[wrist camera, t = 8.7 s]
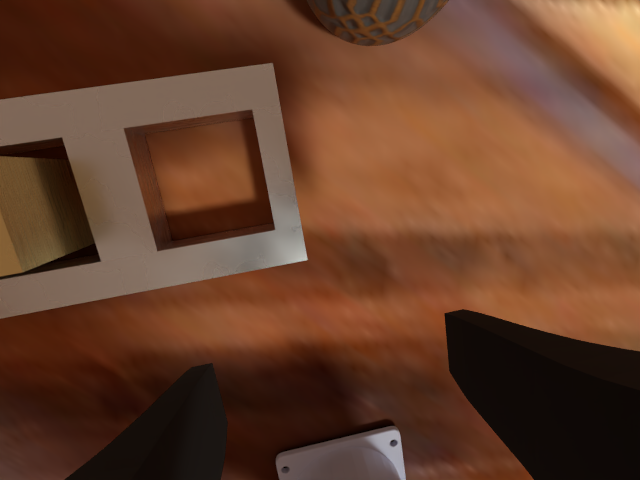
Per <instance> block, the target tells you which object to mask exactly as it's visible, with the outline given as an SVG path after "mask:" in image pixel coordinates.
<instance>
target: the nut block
mask: <svg viewBox="0 0 640 480" xmlns="http://www.w3.org/2000/svg"><path fill="white" fill-rule="evenodd" d="M94 243H95V240H94V237H93V234H92V231H91V228H90V225H89V221H88V218H87V215H86V212H85V209H84V205H83V202H82V199H81V196H80V193H79V190H78V186H77V183H76V180H75V177H74V174H73V171H72V167H71V164H70V161H69V160H64V159H44V158H24V157H5V156H0V276H5V275H11V274H16V273H22V272H25V271H27V270H30V269H32V268H35V267H37V266H40V265H42V264H45V263H47V262H50V261H52V260H55V259H57V258H59V257H62V256H64V255H67V254H69V253H72V252H74V251H77V250H79V249H82V248H84V247H87V246H89V245H92V244H94Z"/></svg>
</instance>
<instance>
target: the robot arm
mask: <svg viewBox="0 0 640 480" xmlns="http://www.w3.org/2000/svg"><path fill="white" fill-rule="evenodd" d="M445 325H446V336H447V348H448V360H449V371H450V373H451V374H452V376H453V378H454V379H455V381H456V382H457V384H458V386H459V387H460V389H461V390H462V392H463V393H464V395H465V396H466V398H467V399H468V401H469V402H470V403H471V404H472V405H473V407H474V408H475V409H476V410H477V412H478V413H479V414H480V415H481V416H482V418H483V419H484V420H485V421H486V422H487V423H488V425H489V426H490V427H491V428H492V429H493V431H494V432H495V433H496V434H497V435H498V436H499V438H500V439H501V440H502V441H503V442H504V444H505V445H506V446H507V447H508V448H509V449H510V451H511V452H512V453H513V454H514V455H515V457H516V458H517V459H518V460H519V461H520V462H521V464H522V465H523V466H524V467H525V469H526V470H527V471H528V472H529V474H530V475H531V476H532V477H533V479H534V480H640V351H633V350H627V349H621V348H616V347H610V346H605V345H600V344H595V343H589V342H585V341H580V340H576V339H572V338H568V337H564V336H560V335H556V334H552V333H548V332H544V331H540V330H537V329H533V328H530V327H526V326H523V325H519V324H516V323H512V322H509V321H506V320H502V319H499V318H496V317H492V316H489V315H485V314H482V313H478V312H474V311H469V310H464V309H462V310H458V311H453V312H448V313H445ZM227 424H228V422H227V418H226V414H225V410H224V406H223V403H222V399H221V395H220V391H219V387H218V383H217V379H216V375H215V372H214V368H213V364H212V363H210V364H205V365H201V366H196V367H191V368H190V369H189V370H188V371H186V372H185V373H184V374H183V375H182V376H181V377H180V378H179V379H178V380H177V381H176V382H175V383H174V384H173V385H172V386H171V387H170V388H169V389H168V390H167V391H166V392H165V393H164V394H163V395H162V396H161V397H159V398H158V399H157V400H156V401H155V402H154V403H153V404H152V405H151V406H150V407H149V408H148V409H147V410H146V411H145V412H144V413H143V414H142V415H141V416H140V417H139V418H137V419H136V420H135V421H134V422H133V423H132V424H131V425H130V426H129V427H128V428H126V429H125V430H124V431H123V432H122V433H121V434H120V435H119V436H118V437H116V438H115V439H114V440H113V441H112V442H111V443H110V444H109V445H107V446H106V447H105V448H104V449H103V450H101V451H100V452H99V453H98V454H97V455H95V456H94V457H93V458H92V459H90V460H89V461H88V462H87V463H85V464H84V465H83V466H81V467H80V468H79V469H78V470H76V471H75V472H74V473H72V474H71V475H70V476H69V477H67V478H66V479H65V480H220V479H221V474H222V469H223V464H224V459H225V450H226V438H227ZM392 440H394V441H393V442H391V441H392ZM285 466H287V468H283V467H285ZM276 467H277V472H278V476H279V480H406V477H405V469H404V461H403V453H402V445H401V438H400V433H399V430H398V428H397V427H395V426H388V427H384V428H380V429H376V430H372V431H368V432H363V433H359V434H355V435H351V436H347V437H343V438H339V439H335V440H330V441H326V442H322V443H318V444H314V445H310V446H306V447H302V448H298V449H293V450H289V451H285V452H282V453H279V454H278V455H277V457H276Z"/></svg>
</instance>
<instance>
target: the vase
mask: <svg viewBox="0 0 640 480" xmlns="http://www.w3.org/2000/svg"><path fill="white" fill-rule="evenodd" d="M448 1H449V0H307V2H308V4H309V6H310V8H311V10H312V11H313V13H314V14H315V16H316V17H317V19H318V20H319V21H320V22H321V23H322V24H323V25H324V26H325V27H326V28H327V29H328V30H329V31H330V32H332V33H333V34H334V35H336V36H337V37H339V38H341V39H343V40H345V41H347V42H350V43H353V44H357V45H363V46H378V45H385V44H389V43H393V42H395V41H398V40H401V39H403V38H405V37H407V36H409V35H411V34H412V33H414V32H415V31H417V30H418V29H420V28H421V27H422V26H424V25H425V24H426V23H427V22H428V21H430V20H431V19H432V18H433V17H434V16H435V15H436V14H437V13H438V12H439V11H440V10H441V9H442V8H443V7H444V6H445V4H446V3H447V2H448Z"/></svg>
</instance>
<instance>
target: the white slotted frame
mask: <svg viewBox="0 0 640 480" xmlns="http://www.w3.org/2000/svg"><path fill="white" fill-rule="evenodd" d="M248 118H254V121H255V127H256V132H257V137H258V142H259V147H260V152H261V158H262V163H263V168H264V173H265V178H266V184H267V189H268V194H269V199H270V204H271V209H272V215H273V220H274V223H270V224H264V225H259V226H253V227H248V228H242V229H236V230H231V231H225V232H220V233H214V234H209V235H203V236H197V237H192V238H186V239H181V240H175V241H172V237H171V233H170V229H169V226H168V222H167V218H166V214H165V210H164V207H163V203H162V199H161V195H160V191H159V188H158V184H157V180H156V176H155V172H154V168H153V165H152V161H151V157H150V153H149V149H148V146H147V142H146V138H145V134H148V133H154V132H161V131H168V130H175V129H181V128H188V127H195V126H201V125H208V124H215V123H221V122H228V121H235V120H242V119H248ZM61 146H65V148H66V152H67V155H68V158H69V161H70V164H71V167H72V171H73V174H74V177H75V180H76V183H77V186H78V190H79V193H80V196H81V199H82V202H83V205H84V209H85V212H86V215H87V218H88V221H89V225H90V228H91V231H92V234H93V237H94V240H95V244H96V247H97V250H98V253H99V254H97V255H91V256H86V257H80V258H74V259H69V260H63V261H58V262H52V263H47V264H42V265H40V266H37V267H35V268H32V269H30V270H27V271H25V272H22V273H16V274H11V275H5V276H0V319H1V318H6V317H12V316H17V315H22V314H27V313H33V312H38V311H43V310H48V309H54V308H59V307H64V306H69V305H74V304H80V303H85V302H90V301H95V300H101V299H106V298H111V297H116V296H122V295H127V294H132V293H137V292H143V291H148V290H153V289H158V288H163V287H169V286H174V285H179V284H184V283H190V282H195V281H200V280H205V279H211V278H216V277H221V276H226V275H232V274H237V273H242V272H247V271H253V270H258V269H263V268H268V267H273V266H279V265H284V264H289V263H294V262H300V261H305V260H307V255H306V250H305V244H304V238H303V232H302V227H301V221H300V215H299V210H298V204H297V198H296V192H295V187H294V181H293V175H292V170H291V164H290V158H289V153H288V147H287V141H286V135H285V130H284V124H283V118H282V113H281V107H280V101H279V95H278V90H277V84H276V78H275V73H274V67H273V63H268V64H260V65H253V66H246V67H238V68H231V69H223V70H216V71H208V72H201V73H194V74H186V75H179V76H171V77H164V78H157V79H149V80H142V81H134V82H127V83H120V84H112V85H105V86H97V87H90V88H82V89H75V90H68V91H60V92H53V93H45V94H38V95H31V96H23V97H16V98H8V99H1V100H0V155H7V154H14V153H20V152H27V151H34V150H40V149H47V148H54V147H61Z"/></svg>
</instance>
